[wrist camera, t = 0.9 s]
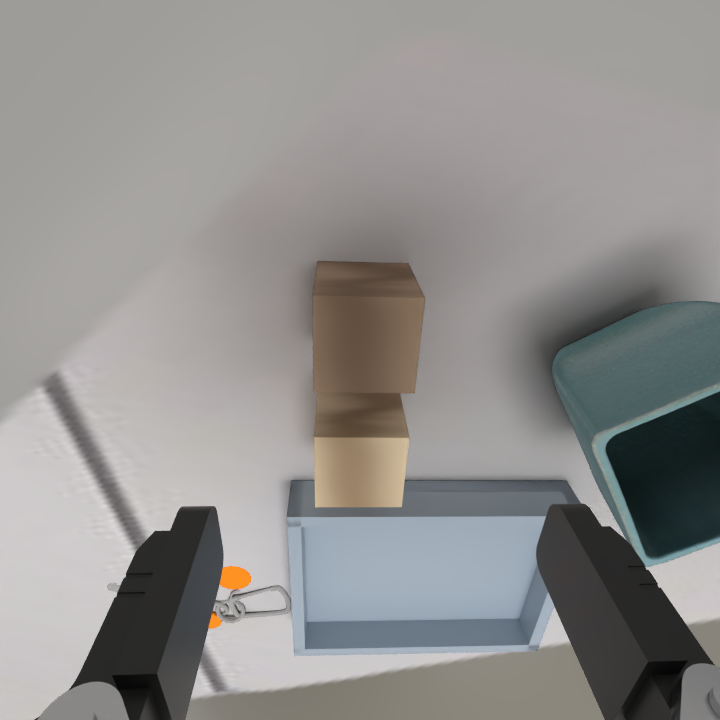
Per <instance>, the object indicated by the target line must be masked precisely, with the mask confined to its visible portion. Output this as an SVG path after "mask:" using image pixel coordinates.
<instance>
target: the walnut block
mask: <svg viewBox="0 0 720 720" xmlns="http://www.w3.org/2000/svg"><path fill="white" fill-rule="evenodd" d="M424 304H425V297H424V295H423V293H422V290H421V288H420V286H419V284H418V282H417V280H416V278H415V276H414V274H413V272H412V270H411V268H410V266H409V263H371V262H333V261H318V263H317V269H316V276H315V282H314V289H313V380H314V392H346V393H415V385H416V376H417V367H418V358H419V349H420V340H421V331H422V322H423V313H424Z"/></svg>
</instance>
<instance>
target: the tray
mask: <svg viewBox="0 0 720 720" xmlns="http://www.w3.org/2000/svg"><path fill="white" fill-rule="evenodd" d="M552 504H581V503H580V501H579V500H578V498H577V497H576V495H575V493H574V492H573V490H572V489H571V487H570V485H569V484H568V482H567V481H405V482H404V491H403V500H402V507H315V481H291V489H290V497H289V504H288V512H287V531H288V550H289V569H290V587H291V606H292V624H293V643H294V656H317V655H367V654H418V653H468V652H519V651H537V650H538V647H539V645H540V642H541V639H542V637H543V634H544V632H545V629H546V626H547V624H548V621H549V619H550V616H551V613H552V611H553V608H554V604H553V602H552V599H551V597H550V595H549V593H548V590H547V588H546V586H545V584H544V581H543V579H542V577H541V575H540V572H539V569H538V565H537V559H536V548H537V544H538V540H539V537H540V534H541V531H542V528H543V525H544V521H545V518H546V515H547V512H548V509H549V507H550V506H551V505H552Z"/></svg>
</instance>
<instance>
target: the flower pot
mask: <svg viewBox="0 0 720 720" xmlns="http://www.w3.org/2000/svg"><path fill="white" fill-rule="evenodd" d="M552 376H553V380H554V384H555V387H556V389H557V391H558V394H559V396H560V398H561V401H562V403H563V405H564V408H565V410H566V412H567V414H568V417H569V419H570V421H571V424H572V426H573V428H574V431H575V433H576V435H577V438H578V440H579V443H580V445H581V447H582V450H583V452H584V454H585V457H586V459H587V462H588V464H589V466H590V469H591V471H592V474H593V476H594V479H595V481H596V483H597V485H598V487H599V489H600V492H601V493H602V495H603V497H604V499H605V501H606V503H607V505H608V506H609V508H610V510H611V512H612V514H613V516H614V518H615V519H616V521H617V523H618V525H619V527H620V529H621V531H622V533H623V534H624V536H625V538H626V540H627V542H629V543H630V544H631V545H632V547H633V548H634V550H635V551H636V553H637V554H638V555H639V557H640V558H641V560H642V561H643V563H644V564H645V567H650V566H654V565H658V564H662V563H665V562H668V561H671V560H674V559H676V558H680V557H681V556H685V555H687V554H690V553H692V552H695V551H698V550H702V549H703V548H705V547H708V546H712V545H714V544H717V543H719V542H720V303H716V302H706V301H686V302H675V303H670V304H664V305H660V306H656V307H652V308H648V309H644V310H640V311H638V312H636V313H634V314H632V315H630V316H628V317H626V318H623V319H621V320H619V321H617V322H615V323H613V324H611V325H609V326H607V327H605V328H603V329H601V330H599V331H597V332H595V333H592V334H590V335H588V336H586V337H584V338H582V339H580V340H578V341H575V342H573V343H571V344H569V345H567V346H565V347H563V348H562V349H560V350H559V352H558V353H557V355H556V356H555V359H554V361H553V365H552Z"/></svg>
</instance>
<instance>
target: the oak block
mask: <svg viewBox="0 0 720 720" xmlns="http://www.w3.org/2000/svg"><path fill="white" fill-rule="evenodd" d="M408 446H409V434H408V429H407V425H406V420H405V415H404V411H403V406H402V402H401V397H400V393H346V392H318V396H317V408H316V420H315V433H314V467H315V507H402V500H403V491H404V482H405V473H406V464H407V455H408Z"/></svg>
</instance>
